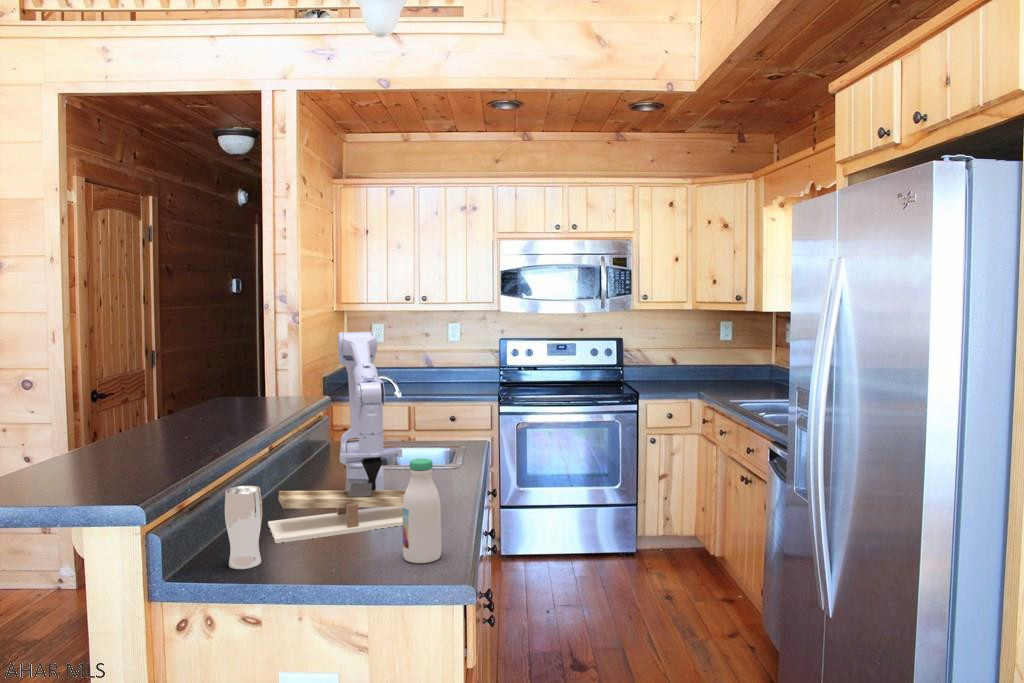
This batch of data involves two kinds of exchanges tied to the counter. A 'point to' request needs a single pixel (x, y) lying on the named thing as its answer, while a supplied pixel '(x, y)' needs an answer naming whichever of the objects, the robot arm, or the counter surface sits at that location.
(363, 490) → the block
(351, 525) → the beam stand
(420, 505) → the milk bottle
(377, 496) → the balance beam
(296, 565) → the counter surface
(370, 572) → the counter surface
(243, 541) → the beer glass
